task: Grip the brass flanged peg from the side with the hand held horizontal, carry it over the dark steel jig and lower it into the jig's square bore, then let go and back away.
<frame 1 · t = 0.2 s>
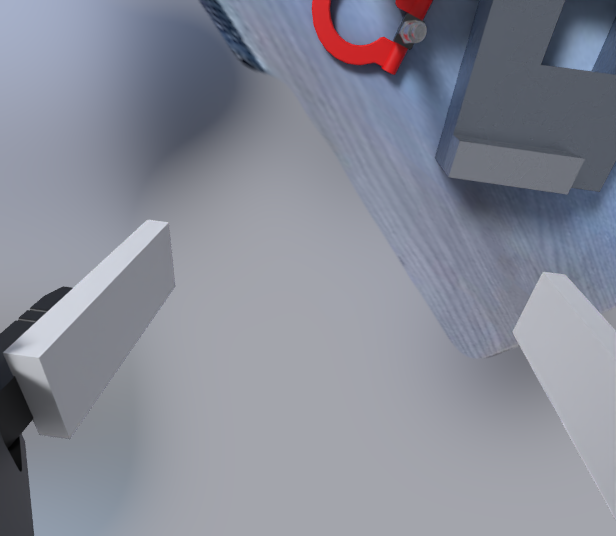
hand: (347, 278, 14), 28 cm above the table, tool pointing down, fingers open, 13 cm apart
jig: (544, 66, 33), on the table
tow hook: (366, 10, 32), on the table, touching teacup with lid
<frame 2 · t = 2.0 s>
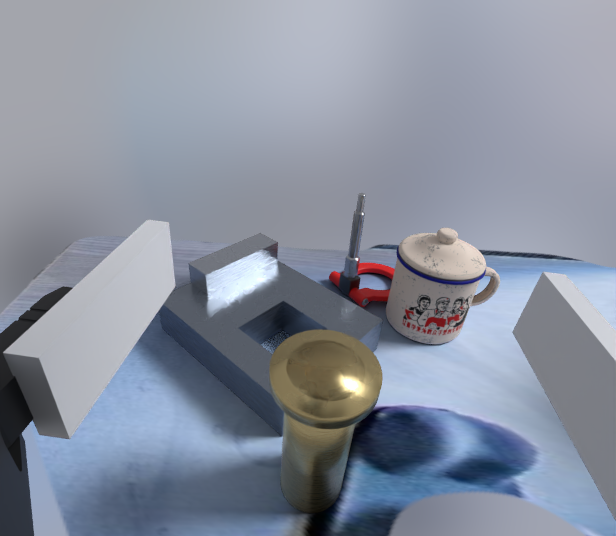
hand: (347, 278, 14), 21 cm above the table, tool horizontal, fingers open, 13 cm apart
jig: (268, 338, 40), on the table
tow hook: (371, 286, 49), on the table, touching teacup with lid
brass flanged peg: (310, 479, 28), on the table
teacup with lid: (433, 321, 45), on the table, touching tow hook
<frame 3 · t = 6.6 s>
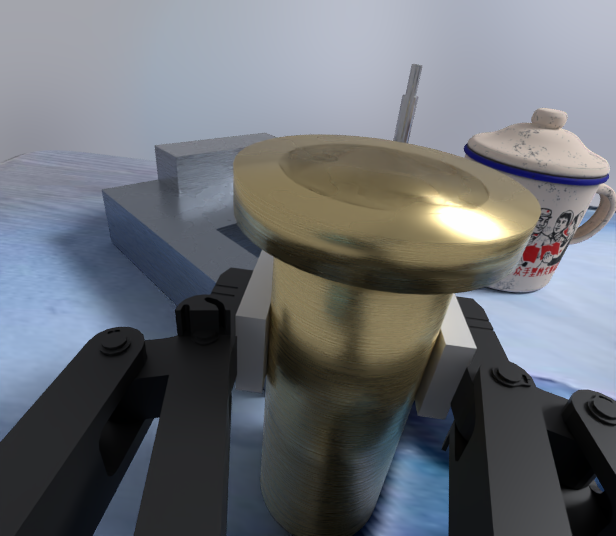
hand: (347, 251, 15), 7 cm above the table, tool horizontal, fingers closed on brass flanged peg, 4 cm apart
jig: (265, 265, 27), on the table
tow hook: (414, 223, 36), on the table, touching teacup with lid
brass flanged peg: (319, 476, 15), on the table, touching gripper
teacup with lid: (505, 266, 31), on the table, touching tow hook
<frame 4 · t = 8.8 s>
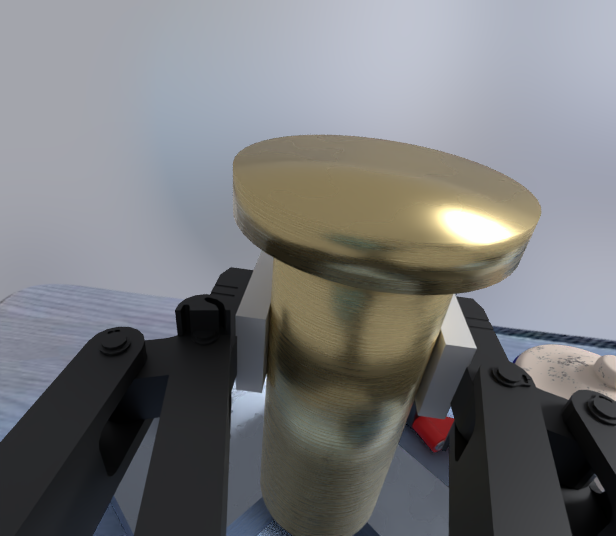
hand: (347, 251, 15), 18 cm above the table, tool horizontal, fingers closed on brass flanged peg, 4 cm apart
jig: (276, 516, 23), on the table
tow hook: (442, 403, 32), on the table, touching teacup with lid
brass flanged peg: (319, 476, 15), point 11 cm above the table, touching gripper
teacup with lid: (551, 485, 27), on the table, touching tow hook
when the fingers open (9 cm above the table, at t = 11.2 s): brass flanged peg drops 2 cm, resting in jig.
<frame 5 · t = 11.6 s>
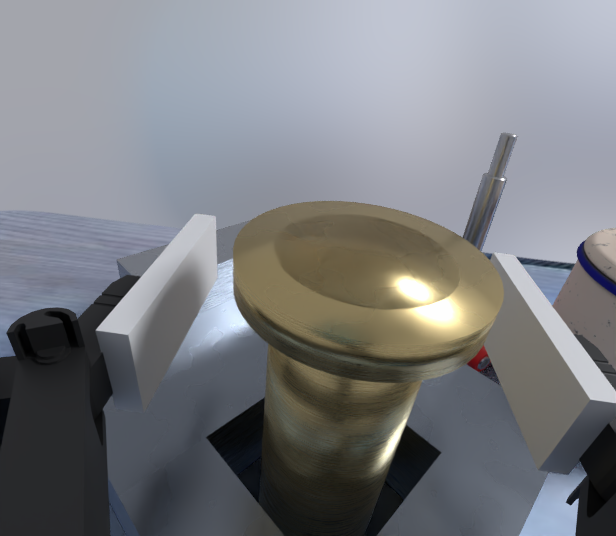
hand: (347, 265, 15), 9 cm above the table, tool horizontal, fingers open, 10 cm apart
jig: (283, 438, 18), on the table
tow hook: (478, 327, 27), on the table, touching teacup with lid
brass flanged peg: (313, 504, 16), resting in jig
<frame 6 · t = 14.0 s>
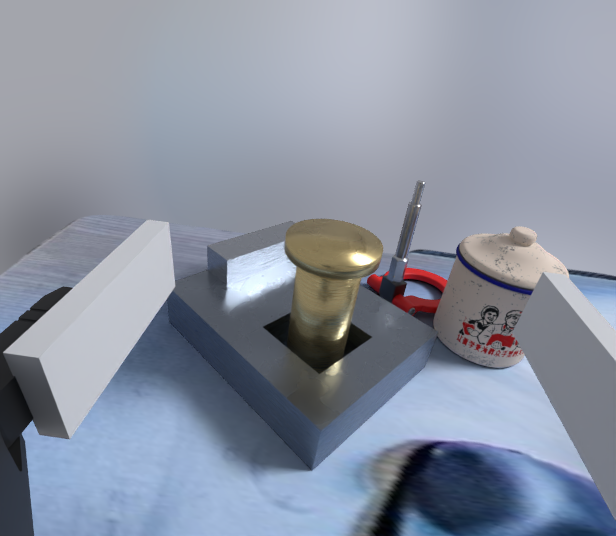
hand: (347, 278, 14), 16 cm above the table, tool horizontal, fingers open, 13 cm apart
jig: (295, 343, 33), on the table
tow hook: (415, 295, 42), on the table, touching teacup with lid
brass flanged peg: (311, 369, 31), resting in jig
teacup with lid: (489, 339, 38), on the table, touching tow hook
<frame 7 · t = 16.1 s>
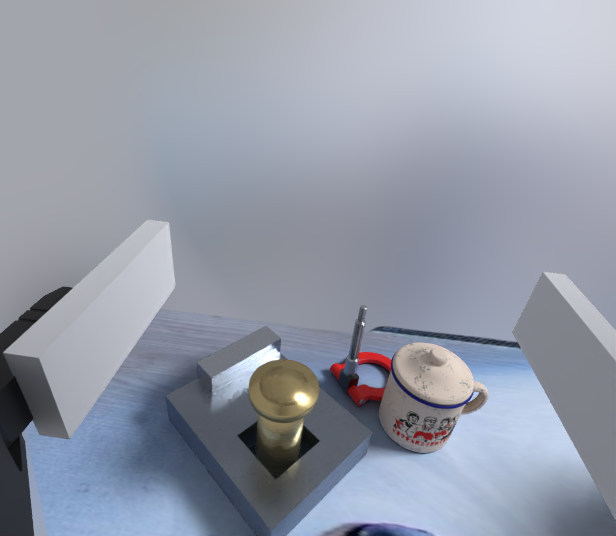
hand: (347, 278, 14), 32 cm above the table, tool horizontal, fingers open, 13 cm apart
jig: (266, 436, 43), on the table
tow hook: (370, 379, 52), on the table, touching teacup with lid
brass flanged peg: (276, 461, 41), resting in jig
teacup with lid: (424, 423, 47), on the table, touching tow hook
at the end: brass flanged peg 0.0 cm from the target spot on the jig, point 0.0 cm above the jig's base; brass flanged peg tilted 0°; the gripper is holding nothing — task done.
